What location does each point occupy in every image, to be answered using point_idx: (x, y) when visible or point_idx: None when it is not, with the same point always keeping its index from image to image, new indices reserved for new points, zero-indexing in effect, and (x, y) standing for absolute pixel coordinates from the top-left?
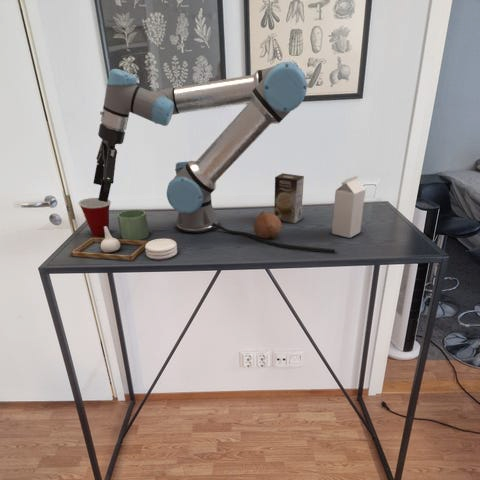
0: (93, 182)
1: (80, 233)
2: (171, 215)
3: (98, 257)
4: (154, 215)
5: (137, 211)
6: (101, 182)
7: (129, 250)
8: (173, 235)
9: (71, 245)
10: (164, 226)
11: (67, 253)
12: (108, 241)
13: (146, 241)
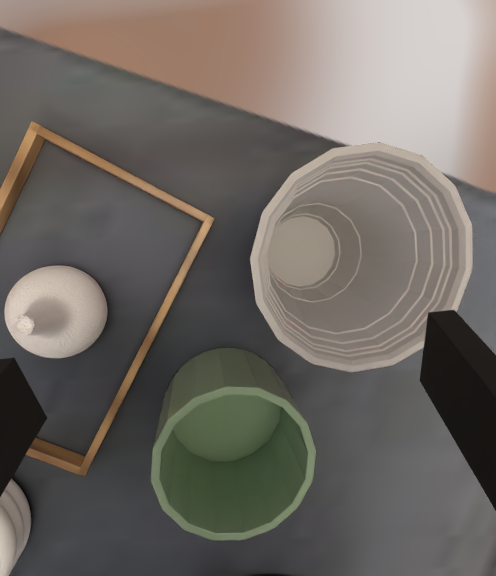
0: (450, 313)
1: None
2: (437, 549)
3: None
4: (466, 480)
5: (295, 486)
6: (433, 396)
7: (45, 385)
8: (179, 560)
9: (189, 118)
10: (306, 523)
11: (83, 104)
12: (14, 315)
13: (81, 468)
